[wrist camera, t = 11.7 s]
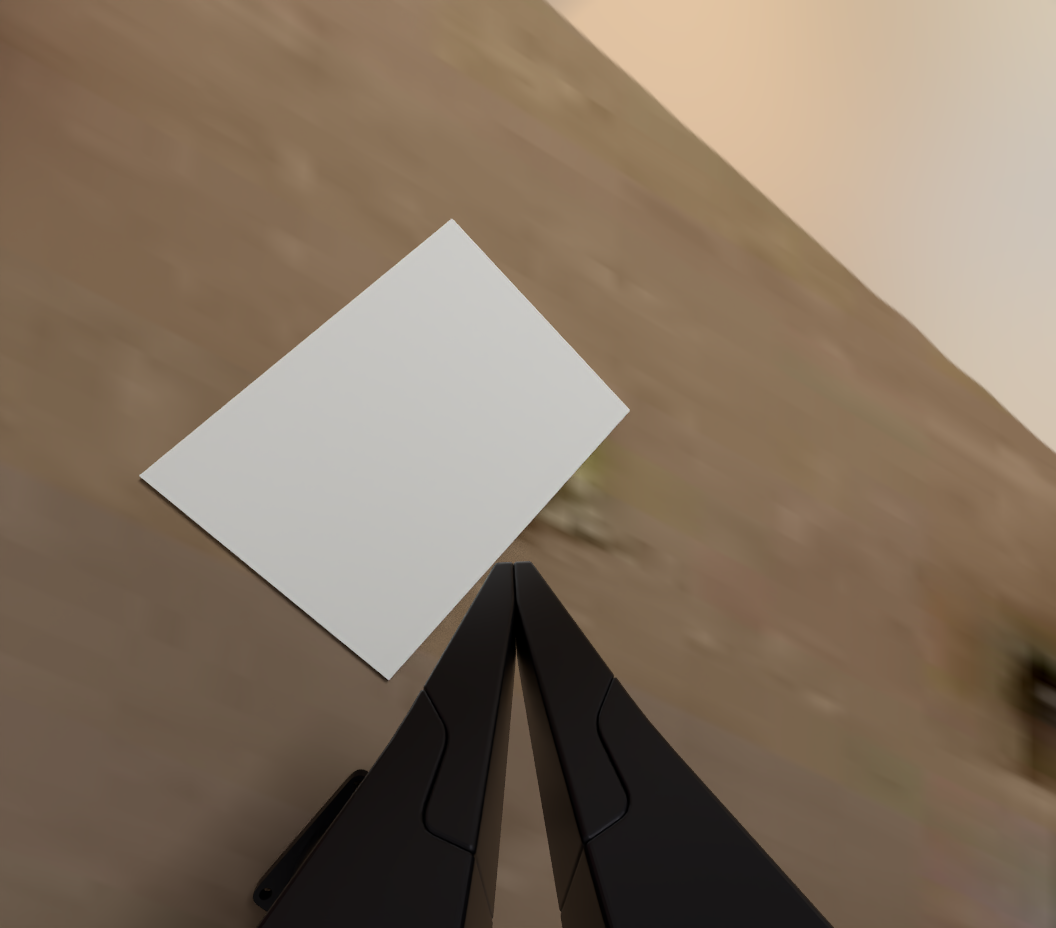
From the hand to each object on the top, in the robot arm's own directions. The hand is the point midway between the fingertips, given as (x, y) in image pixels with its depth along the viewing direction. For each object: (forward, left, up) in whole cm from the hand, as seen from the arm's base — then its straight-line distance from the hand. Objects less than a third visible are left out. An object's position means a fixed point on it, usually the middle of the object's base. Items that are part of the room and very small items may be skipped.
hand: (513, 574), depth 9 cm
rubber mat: (+2, +5, -13) cm, 14 cm away
